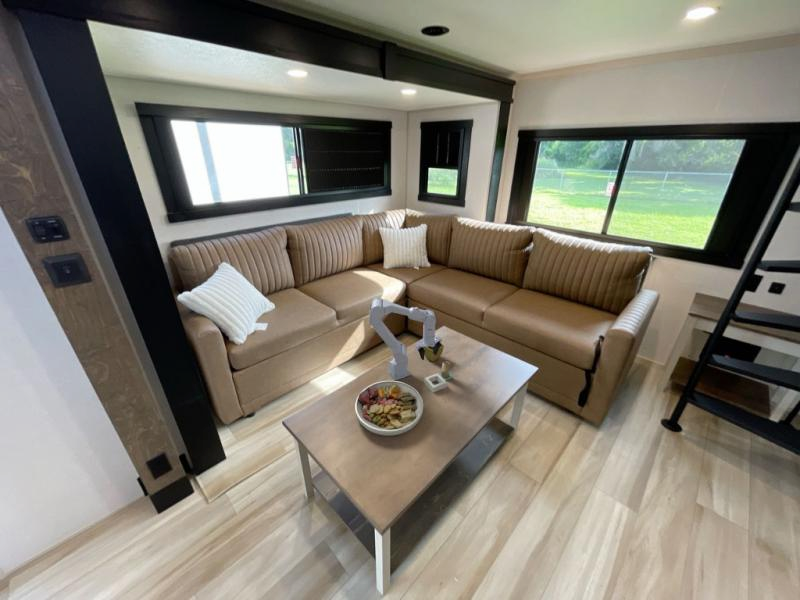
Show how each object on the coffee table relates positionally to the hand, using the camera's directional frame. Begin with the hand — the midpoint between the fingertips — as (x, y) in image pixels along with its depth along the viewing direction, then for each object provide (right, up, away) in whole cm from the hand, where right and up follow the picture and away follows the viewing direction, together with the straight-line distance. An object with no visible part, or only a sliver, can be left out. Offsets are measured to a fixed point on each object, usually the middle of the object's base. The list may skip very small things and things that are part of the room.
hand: (428, 356), depth 157 cm
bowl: (-19, -21, -19) cm, 35 cm away
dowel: (+9, -10, +2) cm, 14 cm away
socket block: (+3, -13, -4) cm, 14 cm away
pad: (+9, -11, +2) cm, 14 cm away
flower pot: (+4, -4, +16) cm, 17 cm away
